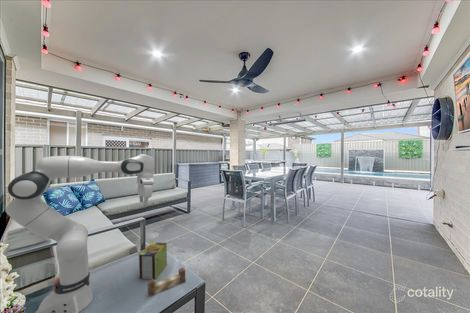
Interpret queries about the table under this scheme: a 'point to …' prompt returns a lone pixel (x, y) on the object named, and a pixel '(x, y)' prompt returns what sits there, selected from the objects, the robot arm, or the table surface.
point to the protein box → (152, 260)
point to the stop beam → (166, 283)
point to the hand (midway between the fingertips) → (143, 203)
